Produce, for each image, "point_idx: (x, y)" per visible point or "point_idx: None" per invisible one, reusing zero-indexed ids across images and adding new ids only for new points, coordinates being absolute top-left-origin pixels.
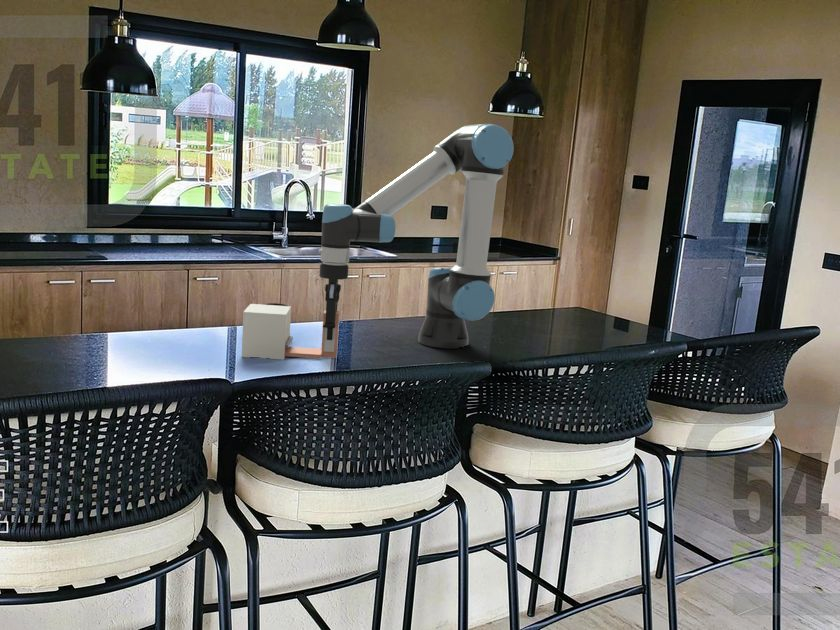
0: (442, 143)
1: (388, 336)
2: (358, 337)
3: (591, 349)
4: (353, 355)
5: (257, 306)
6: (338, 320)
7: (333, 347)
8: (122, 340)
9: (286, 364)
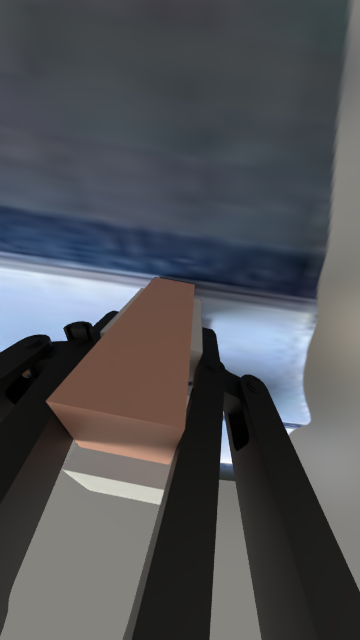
0: None
1: None
2: None
3: None
4: (141, 219)
5: (112, 492)
6: (164, 365)
7: (200, 307)
8: None
9: (235, 374)
